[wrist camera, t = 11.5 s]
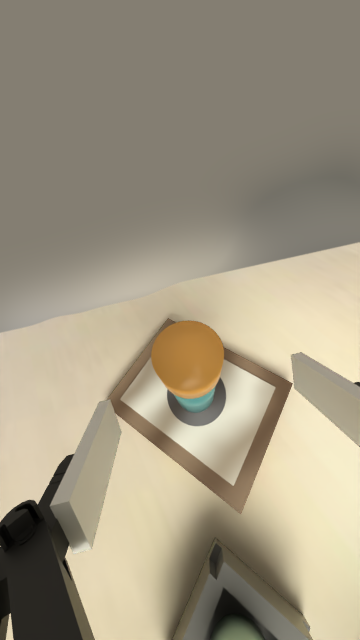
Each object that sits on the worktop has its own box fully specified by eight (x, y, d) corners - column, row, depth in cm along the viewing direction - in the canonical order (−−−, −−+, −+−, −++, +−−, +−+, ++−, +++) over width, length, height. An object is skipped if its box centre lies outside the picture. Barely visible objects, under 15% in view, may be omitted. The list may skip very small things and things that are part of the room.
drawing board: (107, 405, 27) (102, 403, 25) (169, 322, 32) (167, 317, 31) (239, 510, 20) (241, 515, 19) (289, 385, 26) (293, 382, 24)
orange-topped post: (167, 399, 25) (136, 364, 14) (188, 365, 27) (176, 310, 16) (202, 423, 23) (200, 405, 12) (222, 386, 25) (236, 340, 14)
